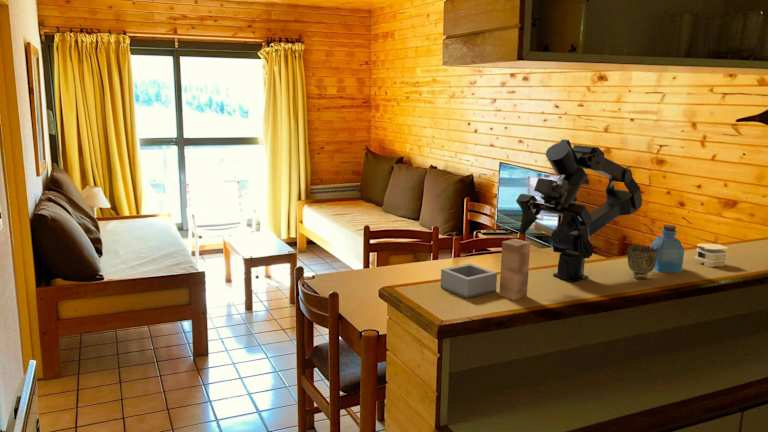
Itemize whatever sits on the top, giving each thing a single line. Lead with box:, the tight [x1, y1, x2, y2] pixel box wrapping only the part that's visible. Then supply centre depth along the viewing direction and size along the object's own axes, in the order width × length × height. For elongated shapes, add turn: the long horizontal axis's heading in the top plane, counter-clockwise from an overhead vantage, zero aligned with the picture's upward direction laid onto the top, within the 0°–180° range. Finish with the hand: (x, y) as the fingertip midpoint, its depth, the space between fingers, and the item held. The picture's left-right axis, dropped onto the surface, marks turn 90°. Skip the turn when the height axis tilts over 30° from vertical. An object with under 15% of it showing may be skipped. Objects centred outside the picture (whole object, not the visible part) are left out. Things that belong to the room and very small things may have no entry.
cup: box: [626, 244, 659, 280], centre depth 161 cm, size 8×7×8 cm
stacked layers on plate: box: [694, 243, 729, 268], centre depth 175 cm, size 10×9×6 cm
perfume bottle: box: [650, 224, 685, 274], centre depth 169 cm, size 6×6×12 cm
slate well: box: [440, 262, 498, 300], centre depth 151 cm, size 9×9×5 cm
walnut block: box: [498, 238, 531, 301], centre depth 146 cm, size 4×4×13 cm
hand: (536, 237), depth 149 cm, fingers open, 9 cm apart
